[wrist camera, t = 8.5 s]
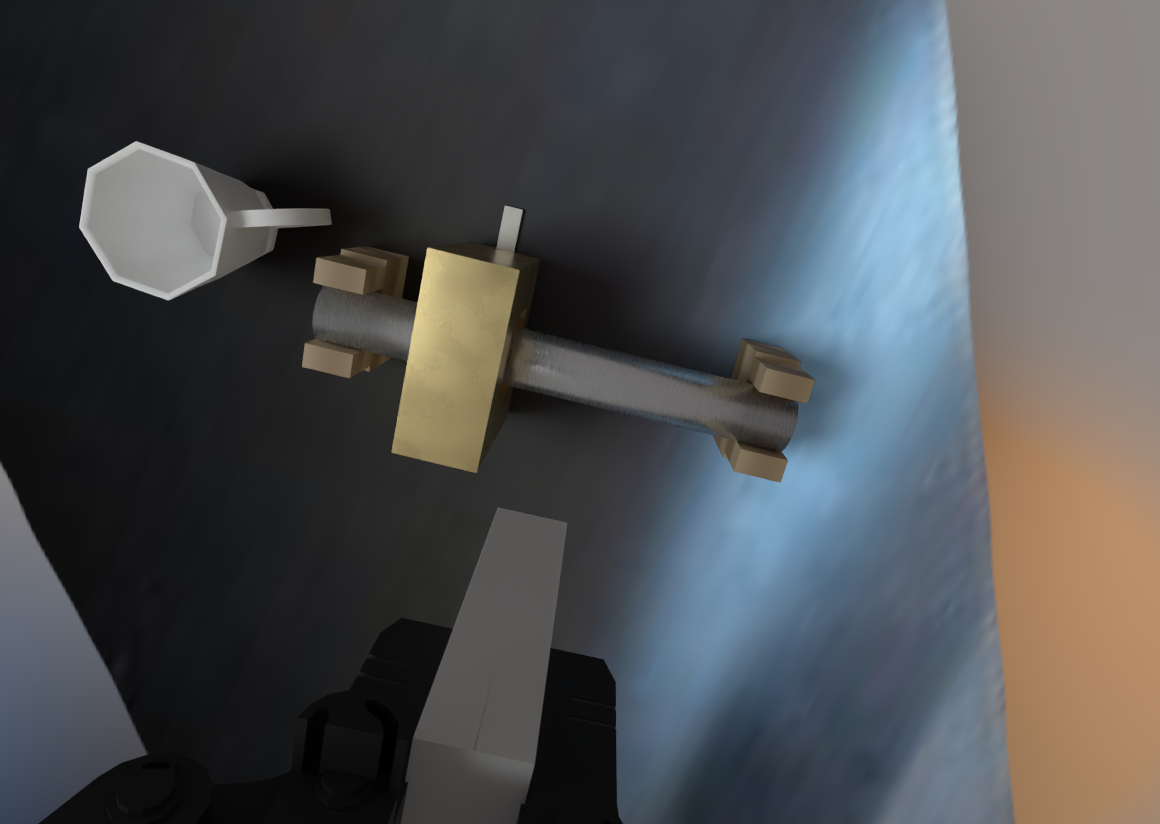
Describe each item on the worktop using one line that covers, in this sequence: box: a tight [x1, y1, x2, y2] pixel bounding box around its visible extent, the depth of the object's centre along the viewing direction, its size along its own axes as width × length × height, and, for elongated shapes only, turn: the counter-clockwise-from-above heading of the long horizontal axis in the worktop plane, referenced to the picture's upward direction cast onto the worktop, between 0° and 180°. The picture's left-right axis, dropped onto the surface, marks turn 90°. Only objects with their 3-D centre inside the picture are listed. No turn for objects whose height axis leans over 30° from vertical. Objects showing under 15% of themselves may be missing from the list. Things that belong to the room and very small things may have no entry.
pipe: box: [313, 285, 798, 451], centre depth 35 cm, size 24×3×3 cm, turn 77°
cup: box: [79, 141, 332, 300], centre depth 36 cm, size 7×10×8 cm
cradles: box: [302, 246, 815, 483], centre depth 37 cm, size 24×6×7 cm, turn 77°
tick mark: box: [497, 206, 523, 252], centre depth 40 cm, size 1×14×1 cm, turn 166°
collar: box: [392, 242, 541, 473], centre depth 35 cm, size 4×9×9 cm, turn 167°
